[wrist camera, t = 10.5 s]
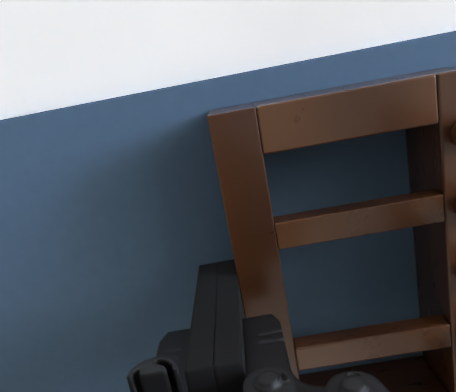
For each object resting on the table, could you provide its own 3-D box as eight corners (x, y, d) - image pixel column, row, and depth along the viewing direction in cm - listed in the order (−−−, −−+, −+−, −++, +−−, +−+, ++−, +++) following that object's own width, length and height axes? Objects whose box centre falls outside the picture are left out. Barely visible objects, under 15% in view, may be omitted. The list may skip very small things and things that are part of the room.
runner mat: (-28, 466, 22) (-32, 472, 21) (-160, 151, 18) (-167, 152, 17) (676, 353, 20) (683, 357, 20) (707, -19, 16) (716, -21, 16)
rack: (265, 408, 20) (299, 685, 11) (209, 109, 17) (189, 144, 8) (459, 379, 20) (662, 639, 11) (442, 67, 17) (722, 48, 7)
